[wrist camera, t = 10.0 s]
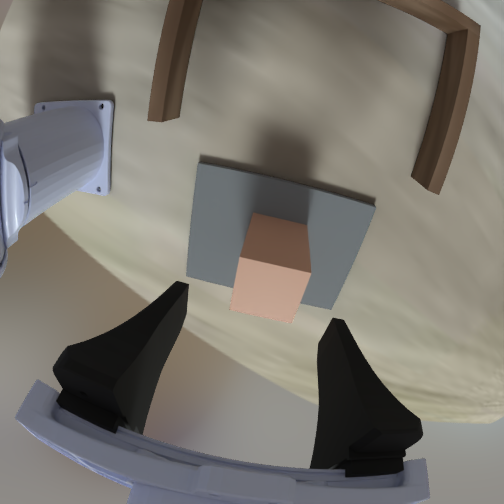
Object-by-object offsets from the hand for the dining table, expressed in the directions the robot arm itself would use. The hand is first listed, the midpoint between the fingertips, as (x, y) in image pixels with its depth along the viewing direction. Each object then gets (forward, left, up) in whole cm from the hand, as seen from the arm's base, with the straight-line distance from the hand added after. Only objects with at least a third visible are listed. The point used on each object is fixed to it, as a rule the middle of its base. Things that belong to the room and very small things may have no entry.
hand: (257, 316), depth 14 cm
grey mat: (0, -1, -9) cm, 9 cm away
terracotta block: (0, -1, -9) cm, 9 cm away
